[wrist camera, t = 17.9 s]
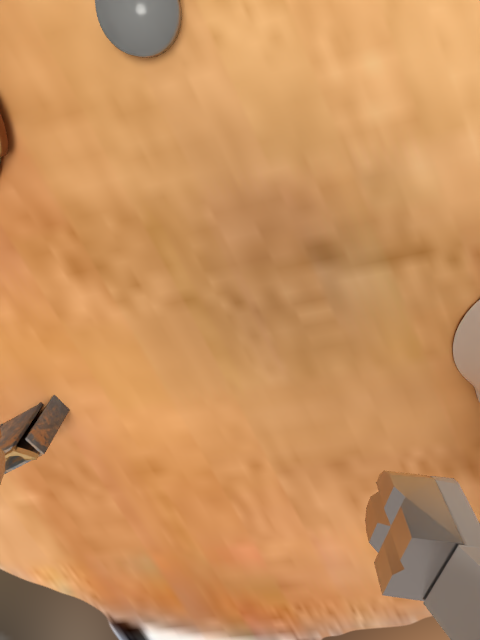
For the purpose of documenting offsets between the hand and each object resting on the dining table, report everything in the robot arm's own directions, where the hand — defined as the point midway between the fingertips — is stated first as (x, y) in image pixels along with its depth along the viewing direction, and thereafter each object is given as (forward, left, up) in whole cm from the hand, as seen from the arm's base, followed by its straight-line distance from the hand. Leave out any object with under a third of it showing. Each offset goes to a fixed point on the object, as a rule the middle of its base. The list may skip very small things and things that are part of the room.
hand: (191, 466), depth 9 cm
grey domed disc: (+9, -11, -34) cm, 37 cm away
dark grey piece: (+22, +33, -35) cm, 53 cm away
